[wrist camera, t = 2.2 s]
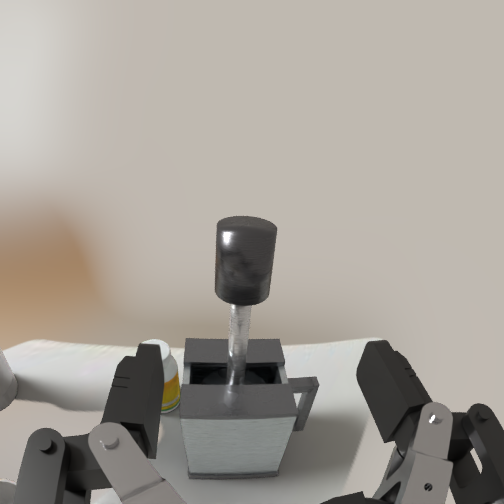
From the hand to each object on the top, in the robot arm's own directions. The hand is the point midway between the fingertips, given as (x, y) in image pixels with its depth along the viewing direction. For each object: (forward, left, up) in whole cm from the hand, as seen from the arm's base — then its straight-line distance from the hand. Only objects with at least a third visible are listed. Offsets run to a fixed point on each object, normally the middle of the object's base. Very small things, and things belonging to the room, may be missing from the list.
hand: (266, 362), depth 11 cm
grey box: (+2, +11, -27) cm, 29 cm away
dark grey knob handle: (0, +11, -17) cm, 20 cm away
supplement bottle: (-9, +18, -27) cm, 34 cm away
